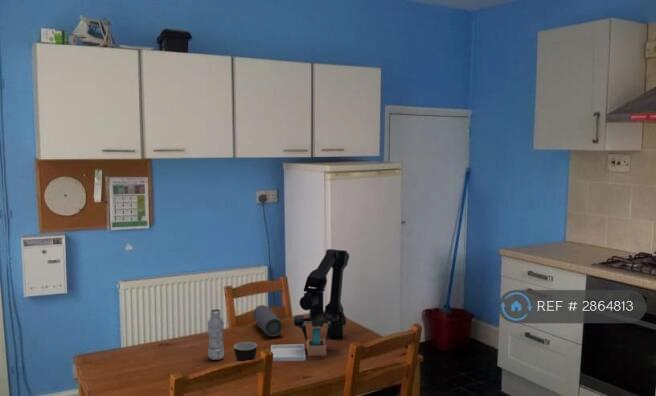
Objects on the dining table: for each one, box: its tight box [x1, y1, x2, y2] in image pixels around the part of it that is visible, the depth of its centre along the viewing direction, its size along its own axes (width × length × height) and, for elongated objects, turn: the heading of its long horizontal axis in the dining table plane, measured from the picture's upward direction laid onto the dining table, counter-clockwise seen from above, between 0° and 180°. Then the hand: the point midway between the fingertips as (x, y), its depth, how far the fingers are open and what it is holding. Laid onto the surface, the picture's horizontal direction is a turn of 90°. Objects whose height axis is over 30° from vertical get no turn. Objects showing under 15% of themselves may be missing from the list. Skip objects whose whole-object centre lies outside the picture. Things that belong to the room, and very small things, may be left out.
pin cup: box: [306, 338, 327, 357], centre depth 227 cm, size 8×8×4 cm
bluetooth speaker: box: [252, 304, 284, 337], centre depth 253 cm, size 23×9×10 cm, turn 21°
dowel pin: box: [311, 327, 322, 346], centre depth 227 cm, size 3×3×10 cm
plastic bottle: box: [207, 308, 225, 361], centre depth 219 cm, size 6×7×20 cm
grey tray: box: [270, 343, 307, 363], centre depth 224 cm, size 14×14×2 cm
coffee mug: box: [233, 341, 258, 363], centre depth 209 cm, size 12×9×10 cm
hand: (316, 340), depth 227 cm, fingers open, 8 cm apart
